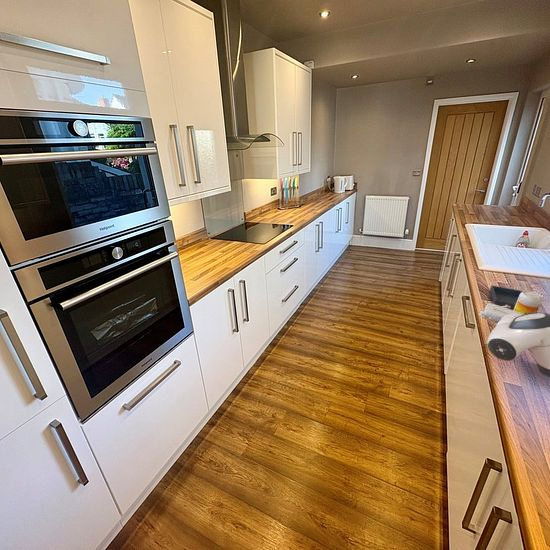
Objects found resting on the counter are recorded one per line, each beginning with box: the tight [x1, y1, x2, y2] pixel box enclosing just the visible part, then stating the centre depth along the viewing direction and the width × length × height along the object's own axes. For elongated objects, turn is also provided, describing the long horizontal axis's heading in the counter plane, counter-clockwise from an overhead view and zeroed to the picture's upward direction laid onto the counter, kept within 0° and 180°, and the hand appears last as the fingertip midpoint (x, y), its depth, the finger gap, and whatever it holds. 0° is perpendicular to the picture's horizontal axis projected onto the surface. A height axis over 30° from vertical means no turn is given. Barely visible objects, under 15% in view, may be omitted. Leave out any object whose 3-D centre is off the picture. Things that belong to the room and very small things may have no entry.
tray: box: [489, 285, 523, 310], centre depth 124 cm, size 11×15×3 cm
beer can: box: [514, 290, 543, 314], centre depth 103 cm, size 6×6×15 cm
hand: (524, 312), depth 101 cm, fingers open, 8 cm apart
